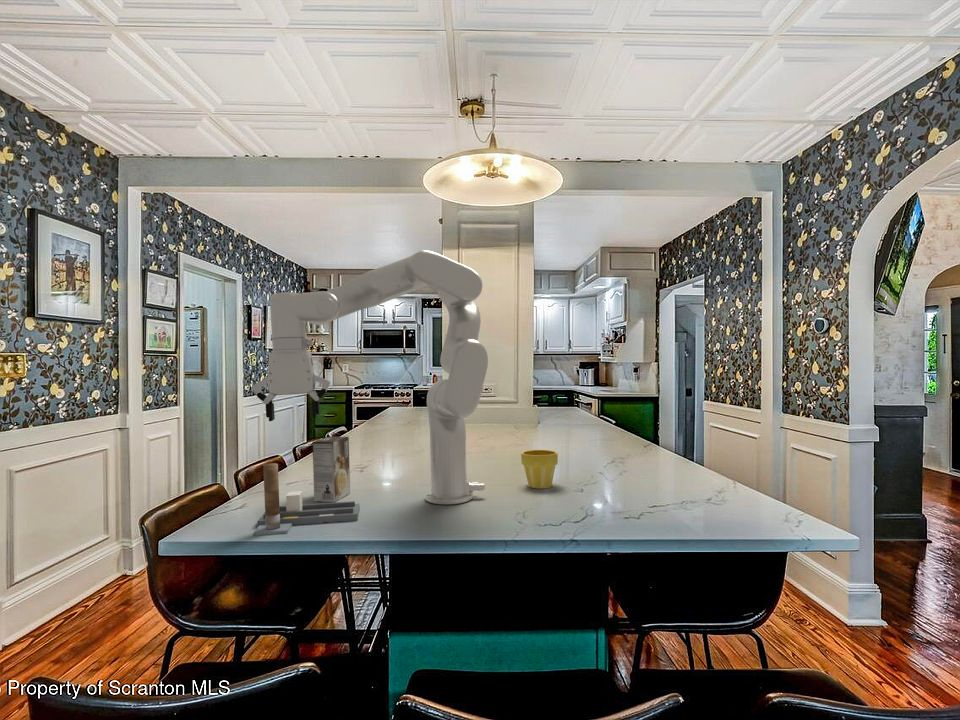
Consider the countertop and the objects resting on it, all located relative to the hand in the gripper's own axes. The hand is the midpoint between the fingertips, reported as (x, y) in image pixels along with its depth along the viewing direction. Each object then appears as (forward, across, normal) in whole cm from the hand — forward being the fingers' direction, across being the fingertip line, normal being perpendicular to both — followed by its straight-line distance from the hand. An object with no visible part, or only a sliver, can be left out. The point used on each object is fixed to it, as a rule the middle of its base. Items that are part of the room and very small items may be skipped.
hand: (293, 419), depth 123 cm
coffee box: (+24, -6, -19) cm, 32 cm away
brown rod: (+23, +5, +6) cm, 24 cm away
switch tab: (+22, +1, -1) cm, 22 cm away
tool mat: (+24, +5, +6) cm, 25 cm away
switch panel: (+24, -3, -1) cm, 24 cm away
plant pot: (+26, -64, -15) cm, 71 cm away
